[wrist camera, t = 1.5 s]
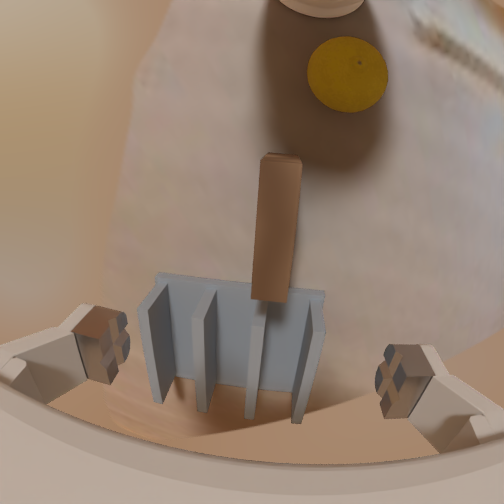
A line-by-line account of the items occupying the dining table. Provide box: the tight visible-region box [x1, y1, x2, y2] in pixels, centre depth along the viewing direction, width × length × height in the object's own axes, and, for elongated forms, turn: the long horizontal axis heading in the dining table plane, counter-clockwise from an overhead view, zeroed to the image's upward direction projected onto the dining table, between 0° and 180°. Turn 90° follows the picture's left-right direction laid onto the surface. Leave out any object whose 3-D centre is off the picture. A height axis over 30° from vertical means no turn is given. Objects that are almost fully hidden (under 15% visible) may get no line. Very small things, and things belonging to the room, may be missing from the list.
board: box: [251, 152, 303, 303], centre depth 23 cm, size 2×9×8 cm, turn 176°
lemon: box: [307, 36, 388, 113], centre depth 18 cm, size 6×6×8 cm
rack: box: [137, 273, 326, 424], centre depth 29 cm, size 16×13×6 cm
